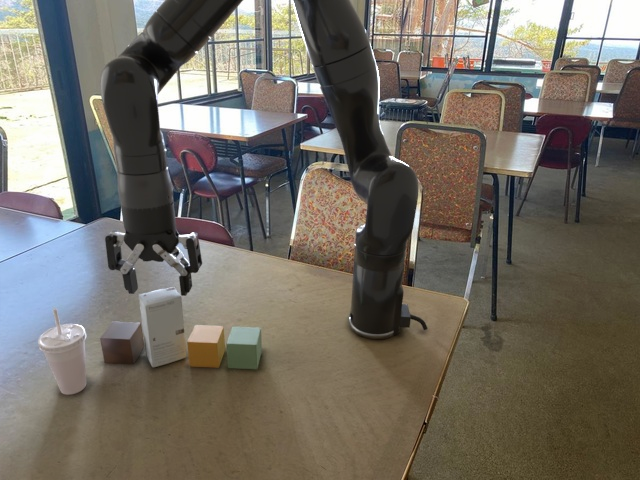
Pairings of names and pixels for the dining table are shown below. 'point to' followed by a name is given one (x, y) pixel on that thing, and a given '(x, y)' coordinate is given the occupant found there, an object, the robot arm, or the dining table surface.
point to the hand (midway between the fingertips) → (159, 292)
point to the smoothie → (65, 355)
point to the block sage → (244, 348)
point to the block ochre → (206, 346)
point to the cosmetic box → (163, 326)
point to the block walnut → (122, 342)
